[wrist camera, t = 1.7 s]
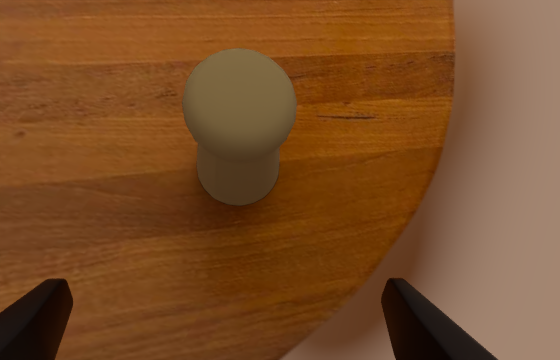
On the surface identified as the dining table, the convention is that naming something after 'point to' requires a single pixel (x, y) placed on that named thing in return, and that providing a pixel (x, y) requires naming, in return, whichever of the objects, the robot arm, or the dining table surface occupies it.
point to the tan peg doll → (238, 123)
